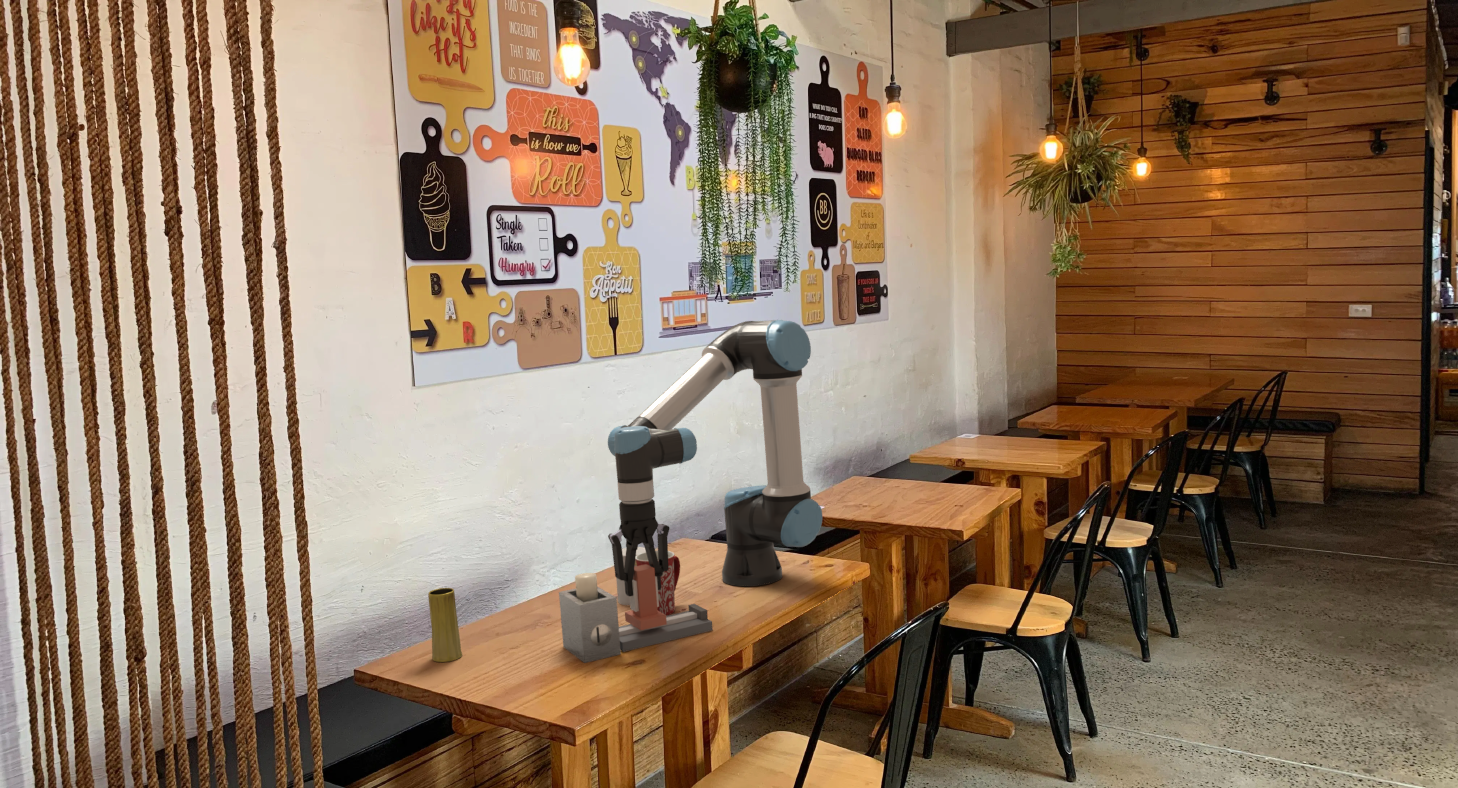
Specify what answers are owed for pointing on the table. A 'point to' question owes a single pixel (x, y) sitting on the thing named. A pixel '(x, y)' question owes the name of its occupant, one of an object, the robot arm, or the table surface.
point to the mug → (665, 581)
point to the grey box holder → (590, 625)
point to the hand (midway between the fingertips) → (644, 607)
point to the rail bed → (666, 629)
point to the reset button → (586, 587)
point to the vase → (444, 625)
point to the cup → (621, 593)
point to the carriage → (645, 600)
